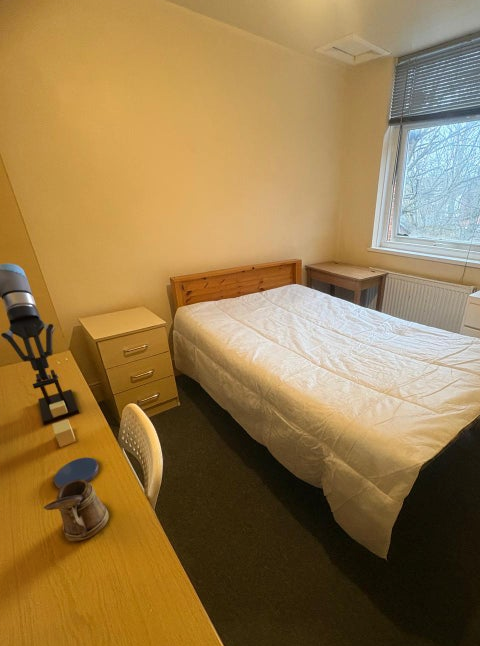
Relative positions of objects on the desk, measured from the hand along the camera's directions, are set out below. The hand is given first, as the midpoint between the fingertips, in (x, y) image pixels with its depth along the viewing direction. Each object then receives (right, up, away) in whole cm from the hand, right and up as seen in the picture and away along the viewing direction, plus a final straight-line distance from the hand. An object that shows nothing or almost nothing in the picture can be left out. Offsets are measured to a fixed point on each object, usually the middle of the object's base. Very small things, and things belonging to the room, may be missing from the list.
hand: (44, 378), depth 96 cm
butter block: (+4, -19, +3) cm, 20 cm away
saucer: (+16, -26, -9) cm, 31 cm away
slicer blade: (-4, -2, +6) cm, 8 cm away
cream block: (-5, -13, +12) cm, 18 cm away
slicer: (-9, -12, +17) cm, 22 cm away
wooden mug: (+28, -33, -23) cm, 49 cm away
